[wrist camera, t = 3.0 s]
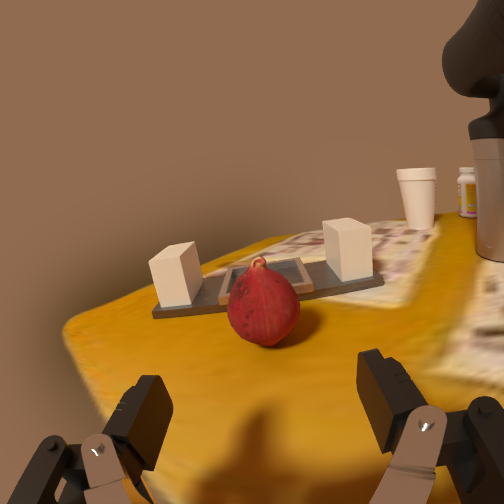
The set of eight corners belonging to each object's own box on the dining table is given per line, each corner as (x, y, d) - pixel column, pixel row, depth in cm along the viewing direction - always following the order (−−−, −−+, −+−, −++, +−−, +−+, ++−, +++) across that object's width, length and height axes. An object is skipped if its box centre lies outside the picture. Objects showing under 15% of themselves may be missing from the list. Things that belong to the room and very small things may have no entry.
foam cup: (398, 223, 59) (393, 169, 56) (432, 221, 56) (428, 167, 52) (405, 232, 50) (400, 169, 47) (444, 230, 47) (440, 167, 44)
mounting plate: (356, 260, 40) (355, 248, 39) (384, 286, 30) (384, 270, 29) (176, 288, 42) (172, 276, 41) (153, 320, 31) (148, 305, 31)
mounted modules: (351, 257, 39) (348, 217, 37) (372, 276, 31) (370, 226, 29) (178, 283, 40) (169, 245, 39) (161, 307, 32) (148, 261, 31)
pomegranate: (252, 374, 19) (231, 277, 18) (228, 341, 25) (209, 260, 23) (315, 346, 21) (307, 254, 20) (282, 321, 27) (271, 243, 25)
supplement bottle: (484, 216, 52) (481, 167, 49) (473, 219, 51) (470, 167, 48) (466, 213, 58) (463, 167, 55) (454, 216, 57) (451, 167, 54)
